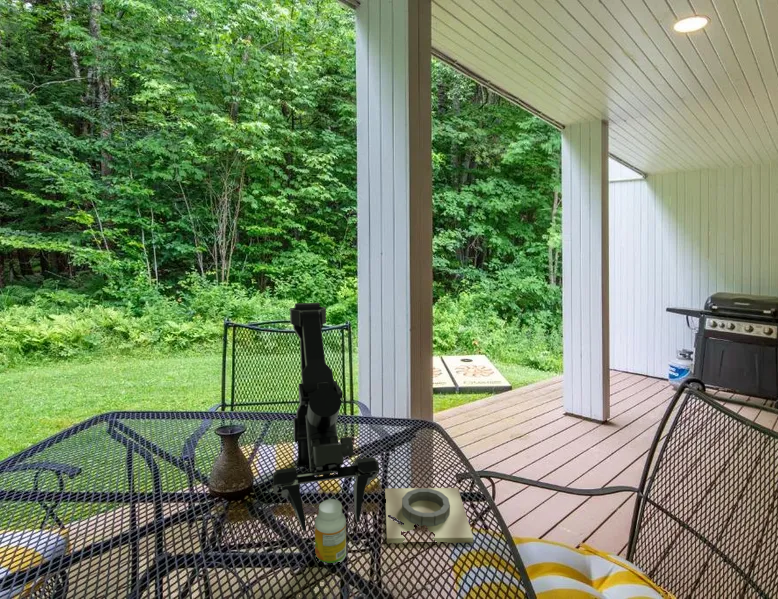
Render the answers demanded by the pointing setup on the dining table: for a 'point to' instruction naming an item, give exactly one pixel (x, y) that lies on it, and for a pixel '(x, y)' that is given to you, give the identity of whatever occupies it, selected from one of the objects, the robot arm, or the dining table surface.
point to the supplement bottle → (330, 532)
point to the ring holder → (427, 513)
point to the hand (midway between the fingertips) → (331, 526)
